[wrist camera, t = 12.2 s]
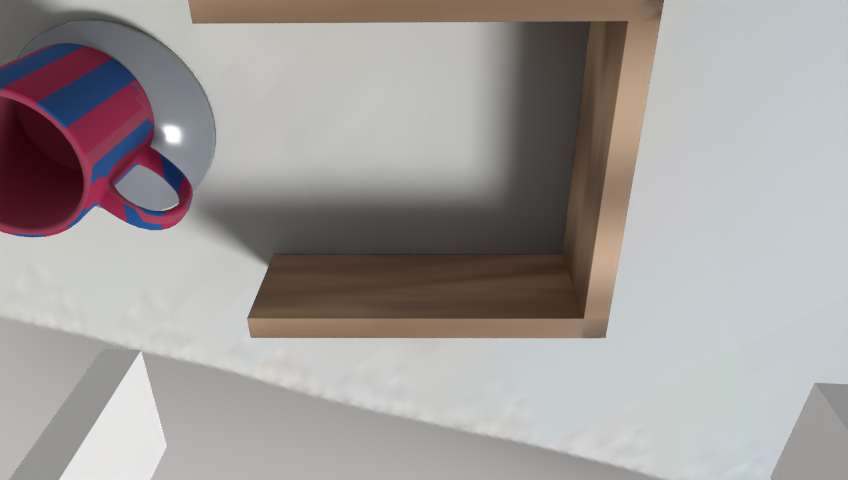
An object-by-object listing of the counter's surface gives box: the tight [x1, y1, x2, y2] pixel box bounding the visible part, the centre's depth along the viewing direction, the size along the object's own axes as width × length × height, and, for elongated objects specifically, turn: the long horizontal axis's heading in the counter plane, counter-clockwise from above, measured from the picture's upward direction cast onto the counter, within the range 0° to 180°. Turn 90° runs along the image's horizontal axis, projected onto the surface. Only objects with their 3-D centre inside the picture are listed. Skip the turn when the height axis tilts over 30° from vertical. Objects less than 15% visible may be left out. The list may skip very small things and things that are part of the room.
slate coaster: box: [17, 20, 216, 211], centre depth 32 cm, size 10×10×1 cm
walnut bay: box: [188, 0, 664, 338], centre depth 30 cm, size 16×18×6 cm
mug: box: [0, 43, 193, 237], centre depth 29 cm, size 7×10×7 cm
